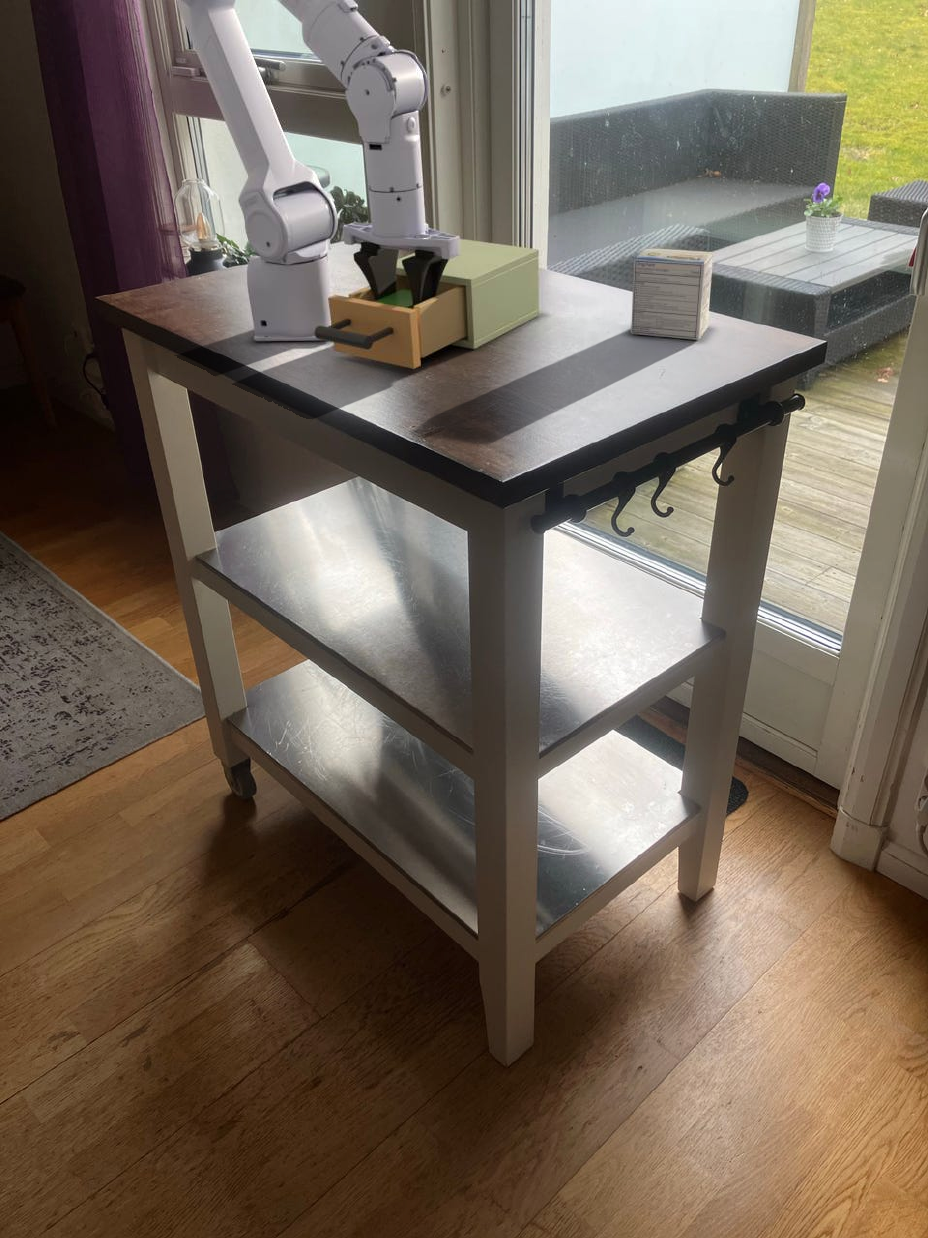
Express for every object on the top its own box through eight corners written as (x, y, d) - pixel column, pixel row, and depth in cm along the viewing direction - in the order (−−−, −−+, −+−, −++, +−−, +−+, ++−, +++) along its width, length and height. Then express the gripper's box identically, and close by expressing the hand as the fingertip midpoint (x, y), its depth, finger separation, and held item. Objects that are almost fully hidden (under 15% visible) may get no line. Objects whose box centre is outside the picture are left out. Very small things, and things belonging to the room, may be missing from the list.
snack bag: (409, 317, 116) (407, 287, 114) (441, 323, 114) (439, 292, 112) (372, 334, 112) (369, 303, 110) (404, 341, 110) (401, 309, 108)
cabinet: (474, 349, 114) (470, 279, 109) (388, 332, 120) (382, 265, 116) (539, 315, 123) (538, 249, 118) (456, 300, 129) (452, 237, 125)
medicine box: (708, 329, 115) (715, 251, 111) (698, 341, 112) (705, 262, 107) (641, 323, 118) (645, 246, 113) (629, 335, 115) (633, 257, 110)
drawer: (384, 384, 104) (378, 326, 100) (304, 365, 110) (296, 310, 106) (482, 334, 115) (479, 281, 112) (404, 319, 121) (400, 268, 118)
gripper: (474, 184, 103) (480, 316, 111) (367, 173, 111) (379, 298, 118) (432, 198, 99) (441, 334, 106) (324, 186, 106) (339, 315, 114)
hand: (406, 316), depth 112 cm, fingers closed on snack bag, 4 cm apart
